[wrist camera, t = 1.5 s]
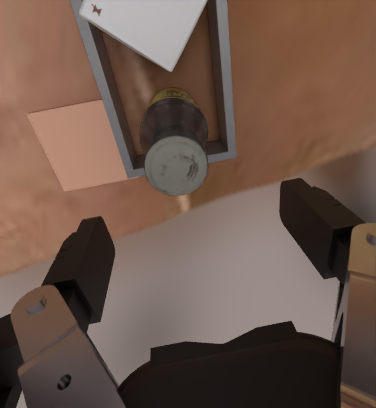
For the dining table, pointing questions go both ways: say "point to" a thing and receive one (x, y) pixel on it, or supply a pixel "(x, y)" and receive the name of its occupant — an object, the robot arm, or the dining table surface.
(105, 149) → the tile
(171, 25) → the supplement box
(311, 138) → the dining table surface
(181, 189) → the sauce bottle
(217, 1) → the bin
